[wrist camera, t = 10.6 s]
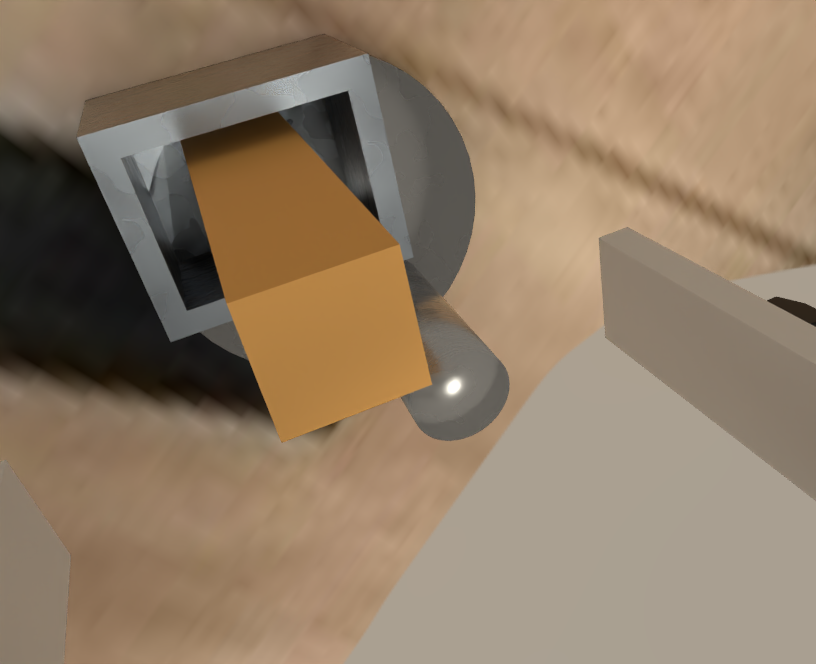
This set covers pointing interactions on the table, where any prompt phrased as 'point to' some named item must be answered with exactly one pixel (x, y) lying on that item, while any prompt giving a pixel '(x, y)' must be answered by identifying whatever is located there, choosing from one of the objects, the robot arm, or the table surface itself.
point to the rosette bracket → (345, 155)
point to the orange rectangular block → (305, 276)
